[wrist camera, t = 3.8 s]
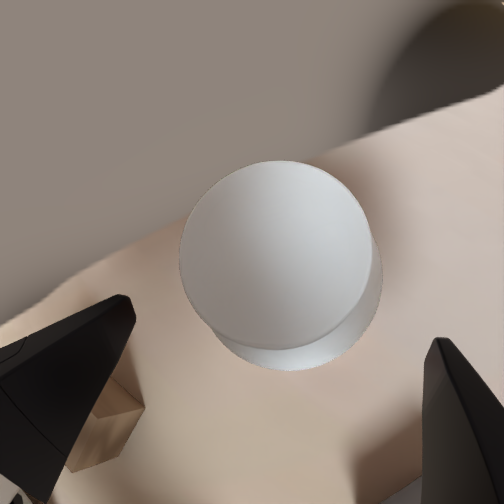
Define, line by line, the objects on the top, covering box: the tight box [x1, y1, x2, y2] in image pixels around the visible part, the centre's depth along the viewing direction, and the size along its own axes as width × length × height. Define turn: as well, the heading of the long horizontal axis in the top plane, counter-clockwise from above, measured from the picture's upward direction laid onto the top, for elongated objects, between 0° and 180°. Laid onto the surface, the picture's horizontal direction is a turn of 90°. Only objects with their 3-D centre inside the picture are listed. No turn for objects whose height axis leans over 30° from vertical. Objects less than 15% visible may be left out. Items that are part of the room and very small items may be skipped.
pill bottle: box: [179, 160, 383, 371], centre depth 12 cm, size 6×6×11 cm
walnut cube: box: [65, 376, 145, 473], centre depth 16 cm, size 5×5×5 cm
